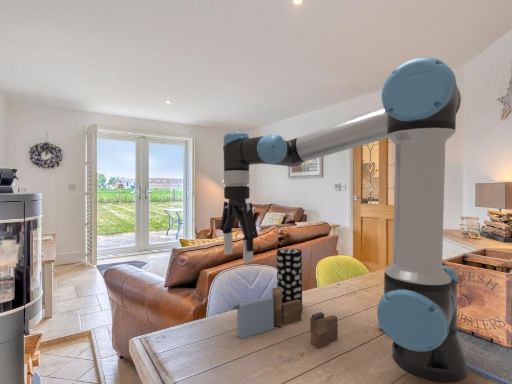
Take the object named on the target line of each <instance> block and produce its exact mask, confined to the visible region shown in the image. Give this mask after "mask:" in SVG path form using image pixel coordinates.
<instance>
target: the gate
mask: <svg viewBox="0 0 512 384" xmlns="http://www.w3.org/2000/svg"><path fill="white" fill-rule="evenodd" d="M232 308H233V310H236V311H237V312H236V315H237V317H236V320H237V321H236V322H237V323H236V326H237V327H236V328H237V331H236V332H237V333H236V334H237V337H239V339H240V340H241V339H244V338H248V337H252V336H254V335H259V334H261V332H262V333H265V332H268V331H270V330H273V329H275V327H274V298H273V296H271V295H269V296H264V297H260V298H256V299H252V300H248V301H247V300H246V301H244V302H240V303H237V304H235V305H233V307H232Z"/></svg>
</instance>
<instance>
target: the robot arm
mask: <svg viewBox="0 0 512 384" xmlns="http://www.w3.org/2000/svg"><path fill="white" fill-rule="evenodd" d="M460 92H461V91H460V90H459V88H458V84H457V80H456V75H455V73H454V71H453V70H452V68H451V67H449V66H448V65H447V64H446V63H445V62H443V61H442V60H440V59H438V58H434V57H428V56H427V57H426V56H423V57H417V58H412V59H410V60H407V61H405V62H404V63H402V64H400V65H398V66H397V67H396V68H395V69H394V70H393V71H392V72H391V73H390V74H389V75H388V77H387V79H386V80H385V81H384V84H383V87H382V89H381V103H382V106H383V107H382V108H379V109H376V110H373V111H370V112H367V113H365V114H362V115H359V116H355V117H352V118H349V119H347V120H344V121H342V122H338V123H336V124H332V125H329V126H328V127H324V128H322V129H321V128H320V129H319V130H314V131H312V132H310V133H306V134H304V135H301V136H299V137H295V138H292V139H289V140H285V138H283V137H282V135H280V134H266V135H260V136H256V137H251V138H250V135H249V134H248V133H247V132H242V131H235V132H234V131H230V132H226V134H225V135H224V136H223V147H222V149H223V185H225V186H224V187H223V190H224V191H223V194H224V195H223V199H225V200H228V201H223V210H222V216H221V221H220V226H219V230H220V231H222V233H223V255H233V252H234V251H233V226H234V224H235V222H236V220H238V222H239V225H240V228H241V231H242V234H243V236H244V237H243V238H242V244H243V246H242V248H243V250H242V251H243V252H242V258H243V264H248V263H254V240H255V239H256V238H258V237H259V234H258V229H257V226H256V222H255V217H254V213H253V203H252V202H247V201H246V200H248V199H250V195H251V194H250V186H249V184H250V177H251V175H250V165H272V166H283V167H290V168H293V167H299V166H301V165H303V163H305V162H308V161H311V160H315V159H318V158H319V159H320V158H321V157H325V156H326V157H327V156H329V155H332V154H336V153H340V152H344V151H347V150H350V149H353V148H357V147H361V146H365V145H369V144H372V143H375V142H379V141H382V140H386V139H389V140H390V141H391V142H392V143H393V144H394V146H395V147H394V150H395V151H394V187H393V188H394V189H393V192H394V194H393V200H394V201H393V233H392V234H393V235H392V262H391V263H390V264H389V265H388V266H386V267H385V268H384V276H383V279H384V280H383V295H382V296H381V297H380V298H379V301H378V304H377V308H376V312H377V313H376V314H377V316H376V317H377V320H378V323H379V325H380V327H381V329H382V331H383V332H384V333H385V334H386V335H387V336H388V337H389V339H390V340H392V346H391V351H392V352H391V355H392V358H393V360H394V361H395V363H396V364H397V365H398V366H400V367H401V368H403V369H404V370H405V371H407V372H410V374H413V375H415V376H417V377H421V378H423V379H426V380H427V379H428V380H432V381H436V382H446V383H447V382H456V381H460V380H462V379H464V378H465V377H466V376H467V373H468V372H467V370H468V367H467V366H468V365H467V359H466V356H465V353H464V350H463V348H462V344H461V342H460V339H459V337H458V283H459V280H458V276H457V271H456V270H455V269H454V268H453V267H450V266H447V265H444V264H443V251H444V250H443V245H444V210H445V208H444V207H445V206H444V205H445V204H444V203H445V175H446V173H445V171H446V144H447V142H448V140H449V139H450V138H451V137H453V135H455V133H456V128H457V126H456V123H457V114H458V112H459V109H460V107H461V101H462V100H461V99H462V97H461V94H460Z"/></svg>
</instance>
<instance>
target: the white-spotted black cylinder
mask: <svg viewBox="0 0 512 384" xmlns="http://www.w3.org/2000/svg"><path fill="white" fill-rule="evenodd" d="M302 255H303V251H302V250H301V249H298V248H279V249H277V250H276V285H277V287H276V288H281V289H282V303H285V302H289V301H293V300H296V299H299V300H301V313H303V265H302V264H303V256H302Z"/></svg>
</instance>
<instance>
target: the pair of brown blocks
mask: <svg viewBox="0 0 512 384" xmlns="http://www.w3.org/2000/svg"><path fill="white" fill-rule="evenodd" d="M272 298H274V329H275V328H276V329H279V328H282V327H283V326H286V325H289V324H293V323H296V322H300V321H302V312H301V300H299V299H296V300H293V301H289V302H285V303H282V289H281V288H277V287H273V288H272ZM309 319H310V321H309V323H310V344H311V345H312V346H314V347H316V348H317V349H321V348H323V347H327V346H328V344H329V343H331V342H334V341H337V340H338V339H339V338H338V337H339V335H338V327H339V326H338V325H339V324H338V317H337V316H336V315H334V314H332V315H329V316H326V317H325V313H323V312H321V311H319V312H316V313H314V314H311V316H310V317H309Z"/></svg>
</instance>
